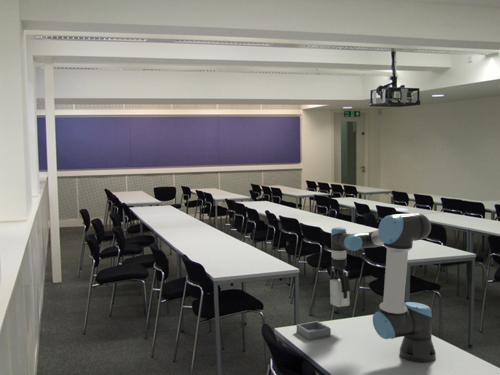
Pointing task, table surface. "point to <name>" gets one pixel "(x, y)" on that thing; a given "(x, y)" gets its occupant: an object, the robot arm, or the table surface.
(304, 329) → the box
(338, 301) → the supplement box
